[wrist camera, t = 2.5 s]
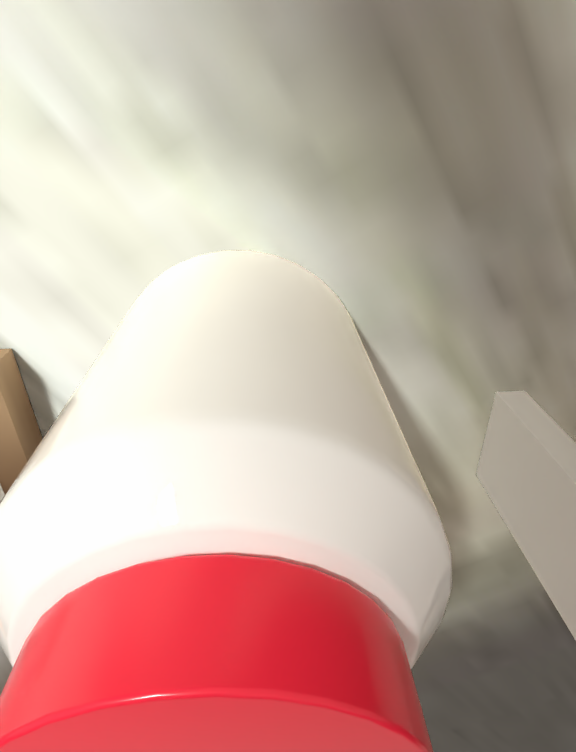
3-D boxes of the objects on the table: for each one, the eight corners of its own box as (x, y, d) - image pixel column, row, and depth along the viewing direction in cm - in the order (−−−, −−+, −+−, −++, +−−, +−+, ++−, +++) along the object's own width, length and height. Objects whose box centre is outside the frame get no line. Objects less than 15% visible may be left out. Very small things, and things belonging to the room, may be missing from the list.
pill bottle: (292, 197, 12) (395, 475, 3) (394, 405, 16) (593, 836, 6) (65, 326, 14) (-356, 789, 4) (206, 489, 17) (141, 942, 8)
